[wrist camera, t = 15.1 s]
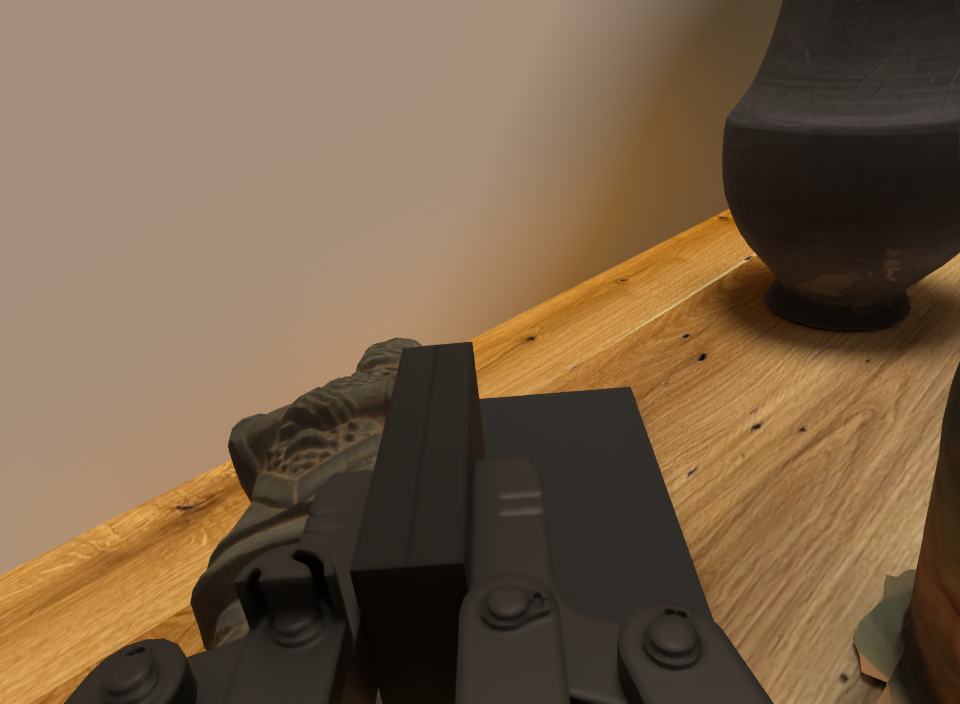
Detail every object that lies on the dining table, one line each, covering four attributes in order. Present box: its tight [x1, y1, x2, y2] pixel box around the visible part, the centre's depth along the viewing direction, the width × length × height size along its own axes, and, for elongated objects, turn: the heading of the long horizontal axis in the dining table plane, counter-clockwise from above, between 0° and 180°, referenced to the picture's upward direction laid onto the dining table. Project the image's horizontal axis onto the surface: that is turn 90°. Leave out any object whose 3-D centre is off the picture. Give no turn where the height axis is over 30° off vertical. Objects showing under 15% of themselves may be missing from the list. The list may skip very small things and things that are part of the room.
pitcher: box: [722, 0, 960, 330], centre depth 45 cm, size 17×21×30 cm
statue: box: [190, 338, 422, 704], centre depth 31 cm, size 11×9×30 cm
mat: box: [479, 387, 713, 621], centre depth 35 cm, size 20×14×1 cm
